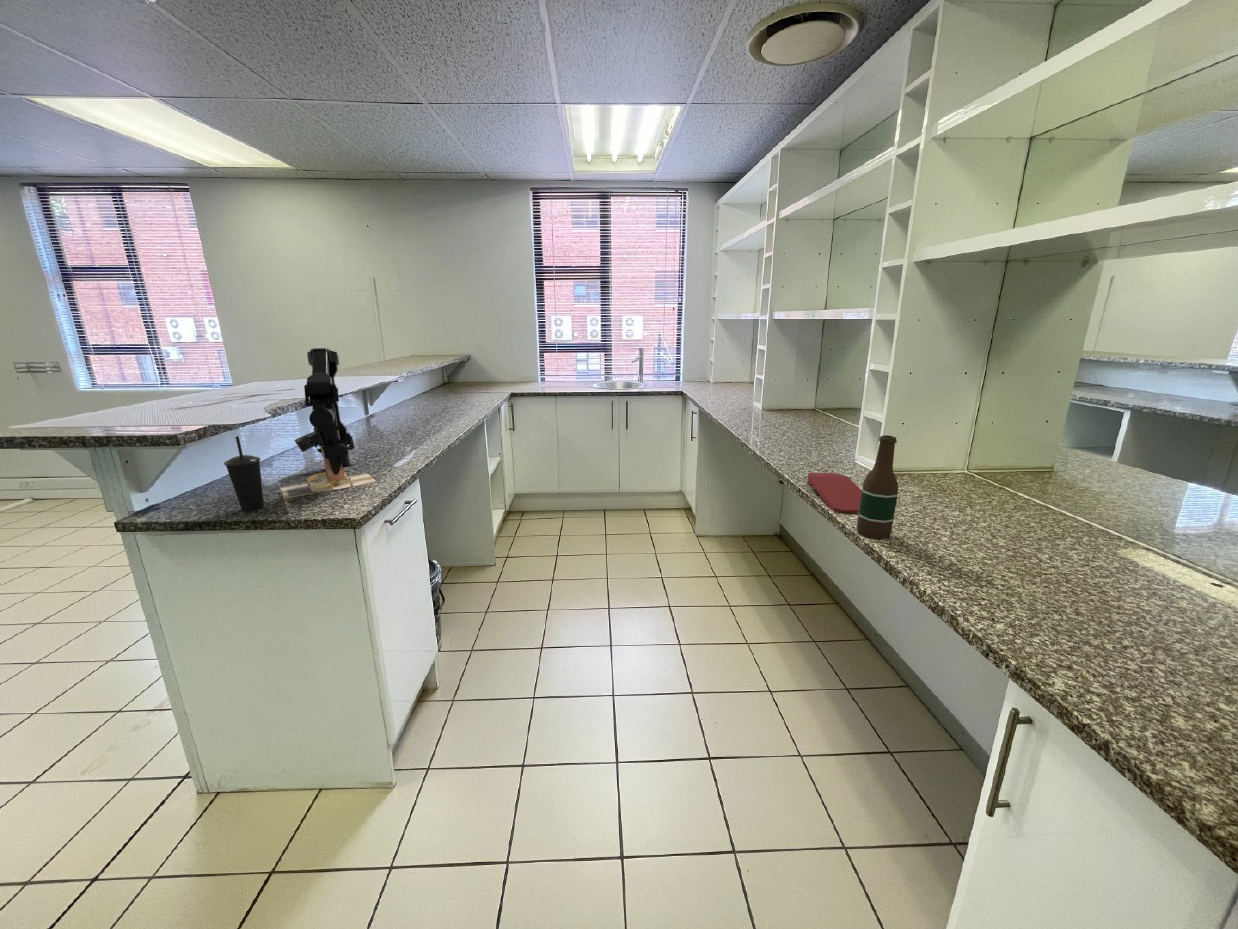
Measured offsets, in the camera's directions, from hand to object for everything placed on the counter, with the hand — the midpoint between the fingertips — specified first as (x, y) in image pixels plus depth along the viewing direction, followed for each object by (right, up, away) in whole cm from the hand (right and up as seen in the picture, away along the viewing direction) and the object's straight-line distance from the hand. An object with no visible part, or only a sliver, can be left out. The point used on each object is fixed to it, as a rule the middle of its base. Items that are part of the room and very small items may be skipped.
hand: (334, 473), depth 147 cm
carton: (+151, -8, -6) cm, 152 cm away
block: (0, -2, +1) cm, 2 cm away
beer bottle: (+149, -14, -31) cm, 152 cm away
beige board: (-1, -5, 0) cm, 5 cm away
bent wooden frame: (-1, -5, 0) cm, 5 cm away
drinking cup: (-12, -10, -17) cm, 23 cm away
